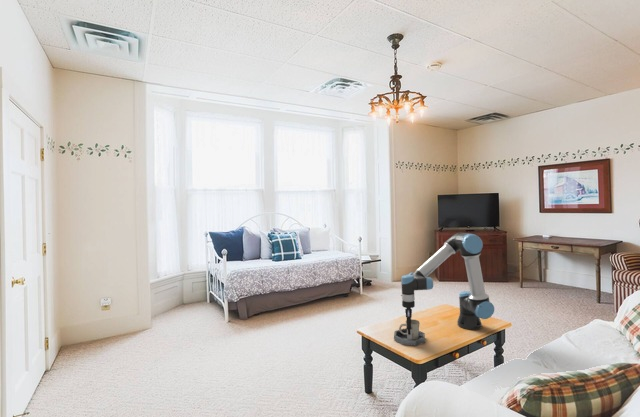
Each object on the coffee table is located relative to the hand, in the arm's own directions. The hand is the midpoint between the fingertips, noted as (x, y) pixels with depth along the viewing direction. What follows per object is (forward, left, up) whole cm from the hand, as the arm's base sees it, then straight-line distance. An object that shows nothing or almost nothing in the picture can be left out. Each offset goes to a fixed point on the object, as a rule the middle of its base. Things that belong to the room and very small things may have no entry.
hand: (409, 337), depth 208 cm
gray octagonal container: (0, 0, -1) cm, 1 cm away
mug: (0, 0, 0) cm, 1 cm away
